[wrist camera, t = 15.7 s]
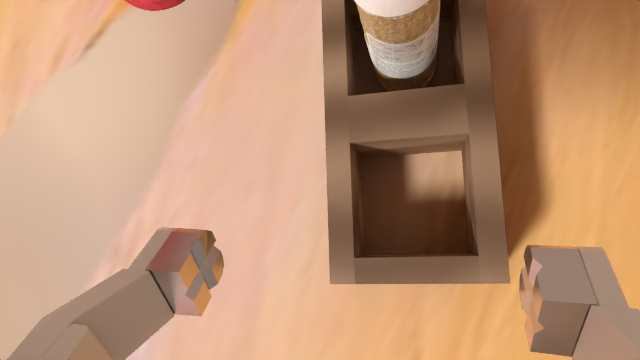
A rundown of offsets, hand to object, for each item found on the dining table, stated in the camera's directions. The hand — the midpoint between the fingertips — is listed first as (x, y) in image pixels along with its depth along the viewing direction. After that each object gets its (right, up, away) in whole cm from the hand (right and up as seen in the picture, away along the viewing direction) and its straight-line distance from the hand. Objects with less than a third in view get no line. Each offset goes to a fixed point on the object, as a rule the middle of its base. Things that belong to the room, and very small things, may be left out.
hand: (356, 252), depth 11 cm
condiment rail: (+5, +5, +19) cm, 21 cm away
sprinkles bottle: (+5, +10, +20) cm, 23 cm away
